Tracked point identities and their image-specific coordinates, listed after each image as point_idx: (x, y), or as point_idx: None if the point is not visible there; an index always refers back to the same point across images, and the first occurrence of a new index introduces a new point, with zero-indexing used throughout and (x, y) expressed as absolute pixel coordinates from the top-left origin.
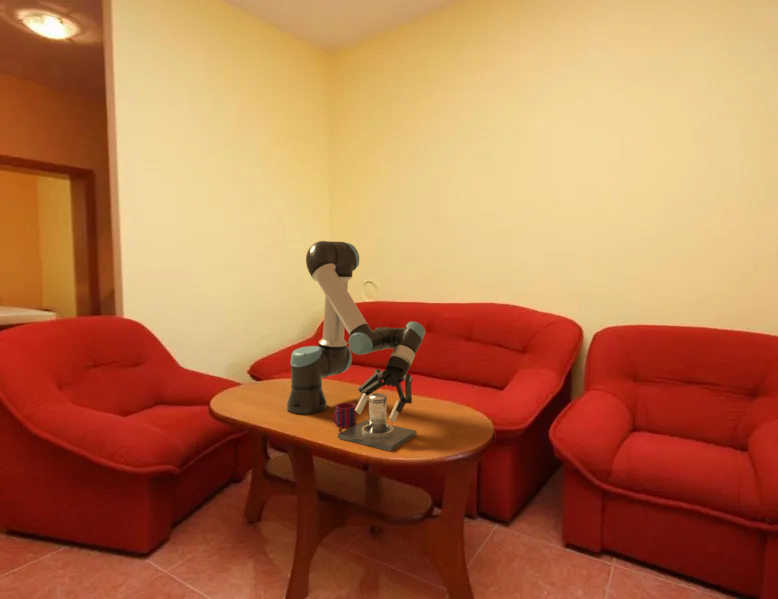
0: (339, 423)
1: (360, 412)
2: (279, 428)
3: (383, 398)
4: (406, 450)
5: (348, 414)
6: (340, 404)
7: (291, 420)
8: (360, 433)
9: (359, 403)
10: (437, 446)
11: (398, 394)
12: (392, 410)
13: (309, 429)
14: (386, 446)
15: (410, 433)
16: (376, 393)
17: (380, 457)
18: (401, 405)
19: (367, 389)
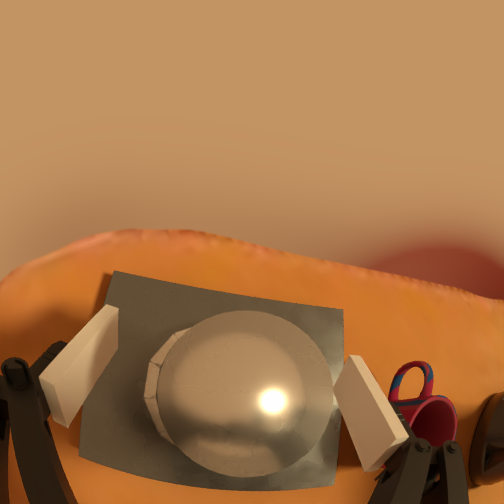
0: (393, 395)
1: (336, 391)
2: (466, 303)
3: (165, 362)
4: (75, 302)
5: None
6: (451, 435)
7: (481, 358)
8: None
9: (368, 382)
10: (5, 359)
11: (41, 429)
12: (95, 333)
13: (431, 335)
14: (131, 275)
15: (86, 420)
16: (299, 456)
17: (138, 230)
18: (37, 360)
19: (407, 468)
